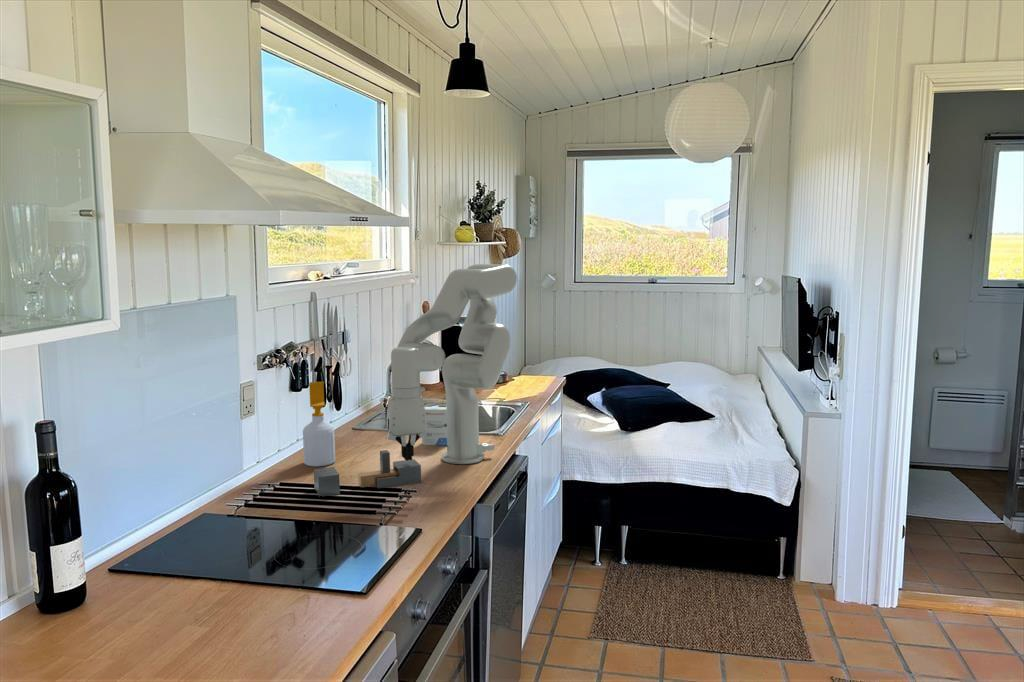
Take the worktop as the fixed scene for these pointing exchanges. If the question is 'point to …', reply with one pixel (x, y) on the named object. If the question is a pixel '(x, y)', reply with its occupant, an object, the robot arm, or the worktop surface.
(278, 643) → the worktop surface
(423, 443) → the ink box
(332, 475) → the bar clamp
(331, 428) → the soap bottle
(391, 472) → the sliding bolt with handle
